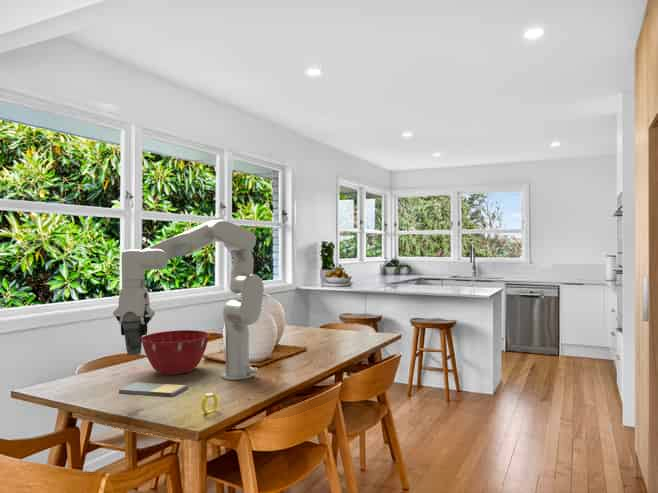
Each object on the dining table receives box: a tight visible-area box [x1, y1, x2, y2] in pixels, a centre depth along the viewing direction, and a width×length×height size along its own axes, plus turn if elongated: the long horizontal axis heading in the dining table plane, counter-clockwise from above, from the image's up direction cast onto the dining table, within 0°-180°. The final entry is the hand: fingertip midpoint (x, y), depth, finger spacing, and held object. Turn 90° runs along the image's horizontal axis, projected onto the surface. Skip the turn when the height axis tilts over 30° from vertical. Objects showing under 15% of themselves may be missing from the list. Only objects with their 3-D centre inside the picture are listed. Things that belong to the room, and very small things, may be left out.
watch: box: [201, 392, 219, 415], centre depth 158 cm, size 6×3×6 cm, turn 149°
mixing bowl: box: [142, 329, 210, 376], centre depth 213 cm, size 28×28×16 cm
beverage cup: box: [122, 312, 143, 356], centre depth 174 cm, size 7×7×20 cm
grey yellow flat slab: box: [118, 382, 188, 397], centre depth 183 cm, size 22×10×1 cm, turn 77°
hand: (134, 334), depth 175 cm, fingers closed on beverage cup, 6 cm apart
